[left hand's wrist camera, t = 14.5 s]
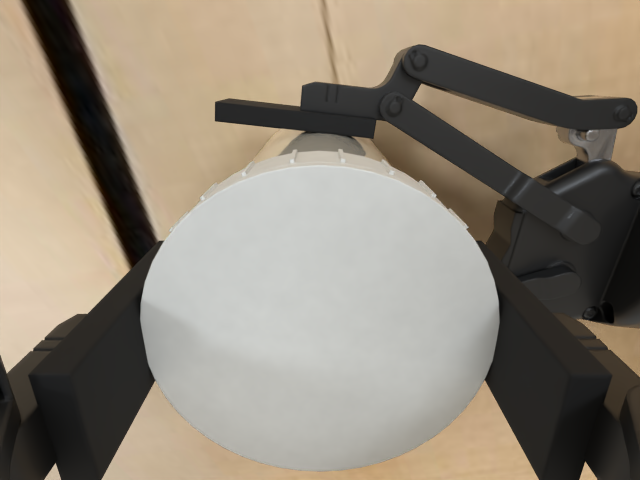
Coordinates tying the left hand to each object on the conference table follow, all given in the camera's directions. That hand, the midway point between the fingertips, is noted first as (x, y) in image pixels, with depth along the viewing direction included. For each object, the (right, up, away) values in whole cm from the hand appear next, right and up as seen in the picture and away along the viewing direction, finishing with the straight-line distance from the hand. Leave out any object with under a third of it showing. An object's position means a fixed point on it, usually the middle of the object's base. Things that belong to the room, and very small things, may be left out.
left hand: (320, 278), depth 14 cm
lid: (0, -1, -3) cm, 3 cm away
